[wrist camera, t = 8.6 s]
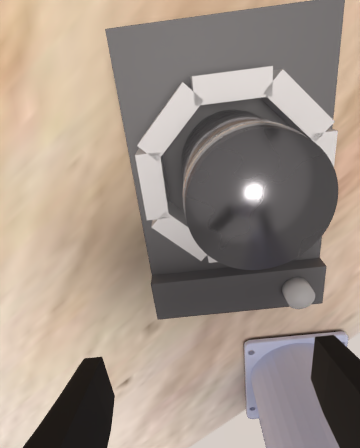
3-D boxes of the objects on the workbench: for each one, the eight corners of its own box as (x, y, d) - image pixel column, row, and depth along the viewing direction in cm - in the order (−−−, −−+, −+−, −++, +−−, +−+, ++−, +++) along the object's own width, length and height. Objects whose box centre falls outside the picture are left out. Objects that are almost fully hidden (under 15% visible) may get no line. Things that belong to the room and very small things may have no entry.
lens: (287, 108, 13) (358, 126, 8) (271, 207, 15) (321, 271, 10) (181, 107, 13) (185, 124, 8) (179, 206, 15) (182, 271, 10)
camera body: (291, 258, 21) (328, 316, 16) (161, 272, 21) (157, 333, 16) (303, 16, 15) (370, -17, 10) (122, 41, 15) (95, 21, 10)
